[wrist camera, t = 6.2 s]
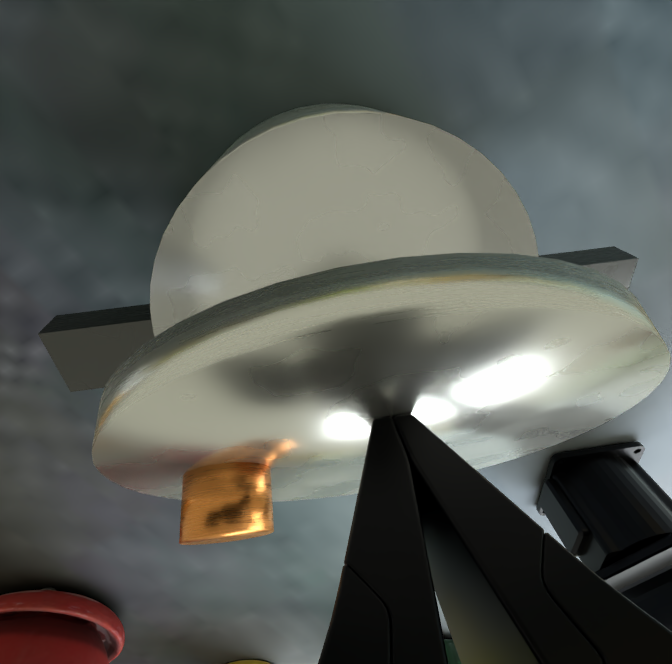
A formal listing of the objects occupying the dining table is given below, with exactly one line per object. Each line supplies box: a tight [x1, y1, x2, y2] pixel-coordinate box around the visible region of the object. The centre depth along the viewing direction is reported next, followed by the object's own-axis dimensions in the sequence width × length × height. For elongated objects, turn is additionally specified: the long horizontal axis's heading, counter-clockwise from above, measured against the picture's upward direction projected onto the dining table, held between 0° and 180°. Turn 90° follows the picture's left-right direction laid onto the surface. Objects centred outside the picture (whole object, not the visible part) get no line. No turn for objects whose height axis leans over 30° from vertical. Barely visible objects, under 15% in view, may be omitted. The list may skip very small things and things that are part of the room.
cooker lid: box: [92, 253, 671, 545], centre depth 11 cm, size 13×13×2 cm
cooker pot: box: [38, 103, 638, 392], centre depth 16 cm, size 20×14×6 cm
